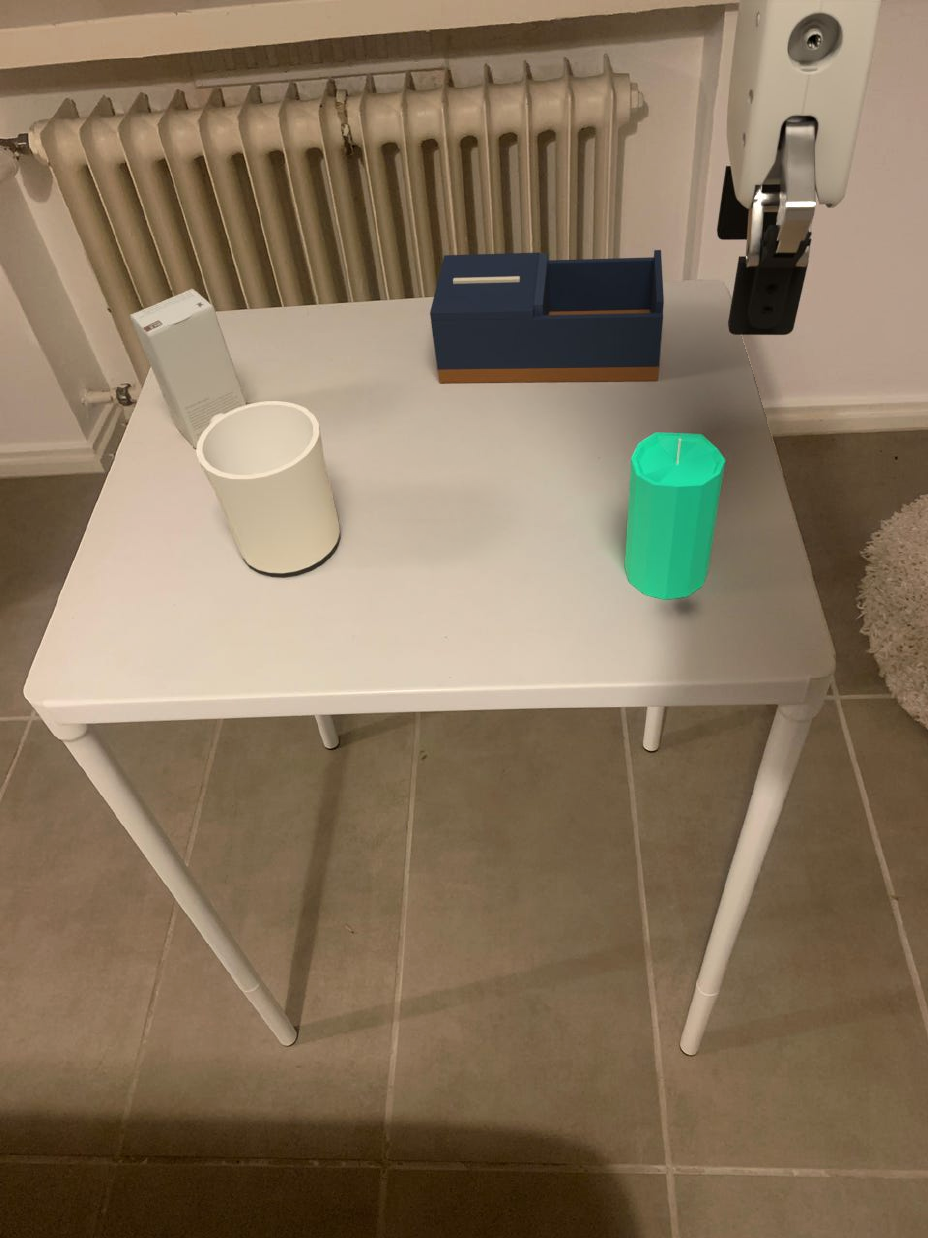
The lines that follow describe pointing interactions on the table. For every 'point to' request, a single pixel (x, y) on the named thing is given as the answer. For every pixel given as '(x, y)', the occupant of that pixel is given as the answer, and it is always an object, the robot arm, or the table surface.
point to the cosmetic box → (189, 361)
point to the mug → (272, 485)
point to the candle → (672, 513)
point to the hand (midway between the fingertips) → (751, 281)
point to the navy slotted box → (547, 319)
